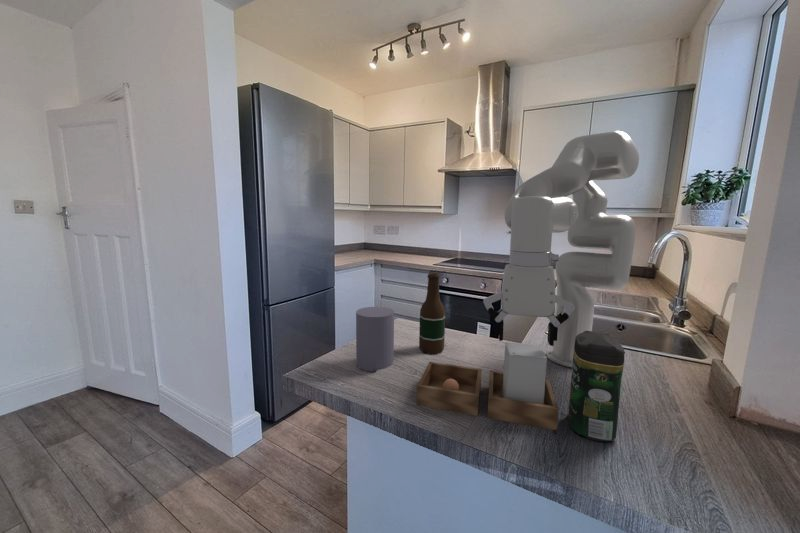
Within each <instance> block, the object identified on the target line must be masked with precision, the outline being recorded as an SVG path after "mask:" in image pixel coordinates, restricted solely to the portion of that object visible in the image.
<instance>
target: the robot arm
mask: <svg viewBox="0 0 800 533" xmlns="http://www.w3.org/2000/svg"><path fill="white" fill-rule="evenodd" d="M639 163H640V155H639V151H638V148H637V145H636V144H635V142H634V141H633V140H632V138H631V136H630V135H628V133H626V132H624V131H622V130H621V131H620V130H612V131H606V132H600V133H593V134H587V135H581V136H577V137H574V138H573V139H571V140H570V141H568V142H566V144H565V145H564V147H563V148H562V150H561V151H560V153H559V155H558V156H557V158H556V160H555V161H554V163H553V164H552V166H551V167H549V168H547V169H545V170H543V171H541V172H540V173H538V174H536V175H534V176H532V177H530V178H529V179H527V180H526V181H524V182H523V183H521V184H520V185H519V186H518V187H517V188H516V190H515V191H514V192H513V193H512V195H511V196H510V199H509V200H508V201H507V204H506V206H505V210H504V223H505V224H506V226H507V228H509V229H510V242H509V243H510V245H509V246H510V247H509V262H508V263H509V264H508V263H507V264H506V265H505V266H504V270H503V276H502V284H501V290H500V291H499V292H497V293H494V294H492V295H489V296H488V297H485V298H483V305H484V307H485V308H486V310H487V313H488V314H489V315H490V316H491V318H493V319H494V320H495V322H496V324H495V326H496V328H495V336H498V340H499V342H501V341H502V342H503V340H504V323H505V322H504V319H505V318H506V317H507V316H508V315H511V316H512V315H513V316H522V317H523V316H525V317H536V318H537V317H538V318H547V319H548V321H549V322H548V325H547V326H548V328H547V337H546V338H547V342H548V345H549V346H551V347H552V348H549V349H547V350H546V354H545V355H546V357H547V359H548V360H550V361H552V362H553V363H556V364H557V365H561V366H564V367H567V368H572V364H573V354H574V345H575V338H576V336H577V335H578V334H580V333H583V332H584V331H593V325H594V322H593V321H594V315H595V314H594V313H595V301H594V298H593V296H592V295H591V292H589V290H588V289H587V288H592V289H601V290H609V291H621V290H623V289H625V288H626V286H627V284H628V283H629V279H630V274H631V268H632V267H631V266H632V261H633V253H634V248H635V241H636V224H635V221H634V219H633V217H631V216H629V215H625V214H606V212H607V208H608V207H607V206H608V197H607V195H606V194H605V193H604V191H603V190H602V189H601V188H600V187H599V186H598V185H597V183H595V182H594V181H596V182H597V181H609V180H610V181H611V180H613V181H614V180H622V179H627V178H631V177H632V176H633V175H634V174H635V173H636V171H637V169H638V167H639ZM569 196H572V198H570V197H569ZM565 232H567V242H568V244H569V245H570V246H572V247H574V248H578V249H590V250H606V251H610V252H611V254H610V253H600V252H598V253H596V252H589V251H568V252H565V253H562V254H560V255H559V254H555V253H553V252H552V239H553V238H552V237H553V236H552V235H553V233H556V234H557V233H558V234H559V233H565ZM554 262H555V270H554V266H553V265H552V263H554ZM555 276H556V279H555ZM498 301H500V306H501V308H500V309H499V310H498V311H497V309H496V308H494V306H493V305H492V303H495V302H498Z"/></svg>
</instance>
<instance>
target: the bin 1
mask: <svg viewBox="0 0 800 533" xmlns="http://www.w3.org/2000/svg"><path fill="white" fill-rule="evenodd" d="M482 372H483V371H482V368H475V367H470V366H464V365H463V366H462V365H455V364H448V363H440V362H433V361H429V362H428V363H427V366H426V368H425V369H424V371H423V373H422V375H421V378H420V380H419V381H418V383H417V385H416V405H417V406H421V407H425V408H430V409H431V408H433V409H438V410H443V411H449V412H453V413H460V414H464V415H465V414H466V415H470V416H475V417H477V416H479V406H480V405H479V404H480V397H481V396H480V395H481V386H482ZM447 379H454V380H456V381H457V383H458V385H459V391H456V390H450V389H444V388H443V383H444V382H445V381H446V380H447Z"/></svg>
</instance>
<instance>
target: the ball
mask: <svg viewBox="0 0 800 533" xmlns="http://www.w3.org/2000/svg"><path fill="white" fill-rule="evenodd" d="M443 388H444V389H450V390H456V391H459V385H458V383H457V381H456V380H454V379H447V380H446V381H445V382H444V383H443Z"/></svg>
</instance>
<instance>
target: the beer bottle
mask: <svg viewBox="0 0 800 533" xmlns="http://www.w3.org/2000/svg"><path fill="white" fill-rule="evenodd" d="M440 278H441V276H440V273H437V272H431V273H428V274H427V291H426V297H425V300H424V301H423V303H422V304H421V307H420V311H419V335H418V336H419V337H418V340H419V342H418V344H419V347H418V348H419V350H420V351H421V352H422V351H423V352H424V353H423V352H422V353H423V354H427V353H429V354H428V355H432V354H433V355H439V354H438V353H440V354H442V352H443V351H444V349H445V338H446V337H445V336H446V335H445V334H446V332H445V331H446V330H445V329H446V309H445V306H444V304H443V302H442V300H441V296H440Z"/></svg>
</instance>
